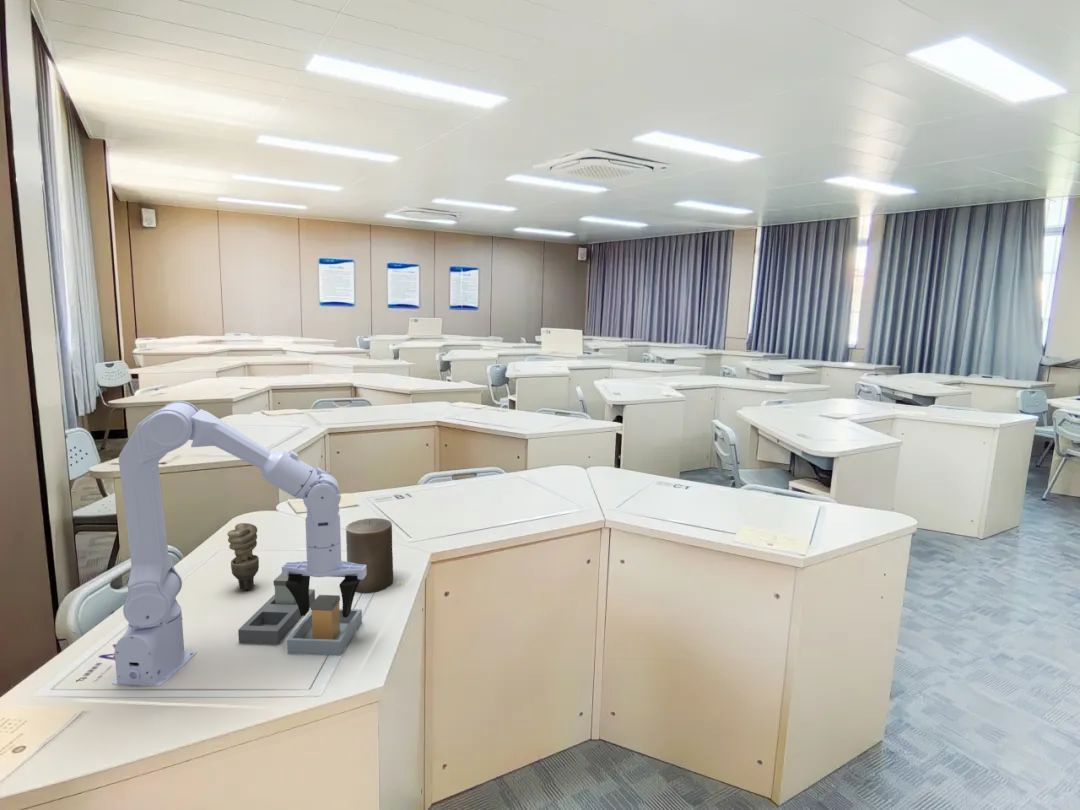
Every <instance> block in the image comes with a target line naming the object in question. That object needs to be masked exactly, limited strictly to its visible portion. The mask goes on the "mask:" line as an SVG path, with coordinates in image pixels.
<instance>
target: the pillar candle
mask: <svg viewBox="0 0 1080 810" xmlns="http://www.w3.org/2000/svg"><path fill="white" fill-rule="evenodd" d="M392 525H393V524H392V521H391V520H388V519H385V518H379V517H378V518H377V517H376V518H375V517H372V518H371V517H370V518H364V519H363V518H362V519H359V520H354V521H352V522H350V523H348V524H347V525H346V527H345V538H346V539H345V542H346V543H345V544H346V562H350V563H355V564H361V565H366V570H367V575H366V576H365V578H364V579H363V580H362V579H361V580H360V582H359V584H358V587H357V589H356V592H355V593H358V594H373V593H378V592H381V591H384V590H386V589H387V588H389V587H391V586H392V585H393V584H394V559H393V558H394V557H393V526H392Z"/></svg>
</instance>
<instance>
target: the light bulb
mask: <svg viewBox="0 0 1080 810" xmlns="http://www.w3.org/2000/svg"><path fill="white" fill-rule="evenodd" d="M257 533H258V527H257V525H254V524H252V523H247V522H240V523H237V524H236V525H235V526H234V529H231V530H229V531H227V533H226V534H227V537H228V539H227V541H228V543H230V544H229V547H228V548H229V549H230V550H232V551H234V555H235V557H234V558H233V559H231V561H230V568H231V575H232V576H233V577H234V578H235V579H237V581H238V587H239V590H240V591H245V592H246V591H250V590H252V589H253V588H254V587H255V582H254V581H255V580H254V578H255V576H256V575H257V573H258V571H259V568H260V565H259V564H260V563H259V562H260V561H259V559H260V558H259V556H258V555H256V554H253V550H254V549H256V547H257V545H258V541H257V539H258V534H257Z"/></svg>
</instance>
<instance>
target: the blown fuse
mask: <svg viewBox="0 0 1080 810" xmlns="http://www.w3.org/2000/svg"><path fill="white" fill-rule="evenodd" d="M340 596H341V595H336V594H335V595H334V594H333V595H332V594H318V596H317V597H315V600H314V601H313V603H312V604H311V607H310V611H312V637H313V639H330V640H334V639H335V638H336V636H337V635H338V634H339V632H340V612H339V609H340V601H341V597H340Z"/></svg>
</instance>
